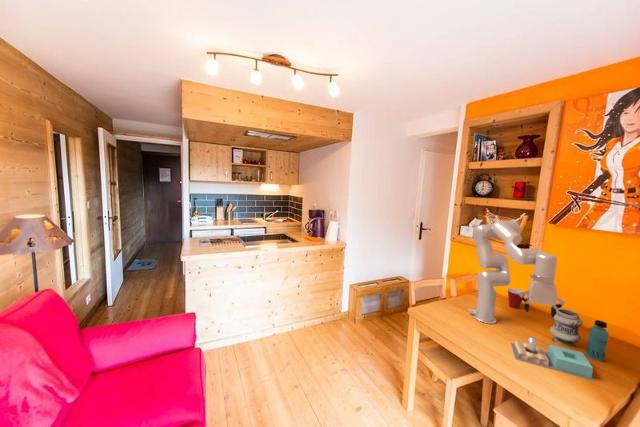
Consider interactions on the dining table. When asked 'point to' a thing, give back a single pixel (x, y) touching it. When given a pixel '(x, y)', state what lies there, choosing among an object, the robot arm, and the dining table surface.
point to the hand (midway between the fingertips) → (539, 313)
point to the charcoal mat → (550, 365)
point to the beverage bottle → (597, 341)
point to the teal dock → (570, 361)
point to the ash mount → (531, 354)
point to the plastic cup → (514, 298)
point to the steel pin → (531, 344)
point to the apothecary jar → (566, 327)
